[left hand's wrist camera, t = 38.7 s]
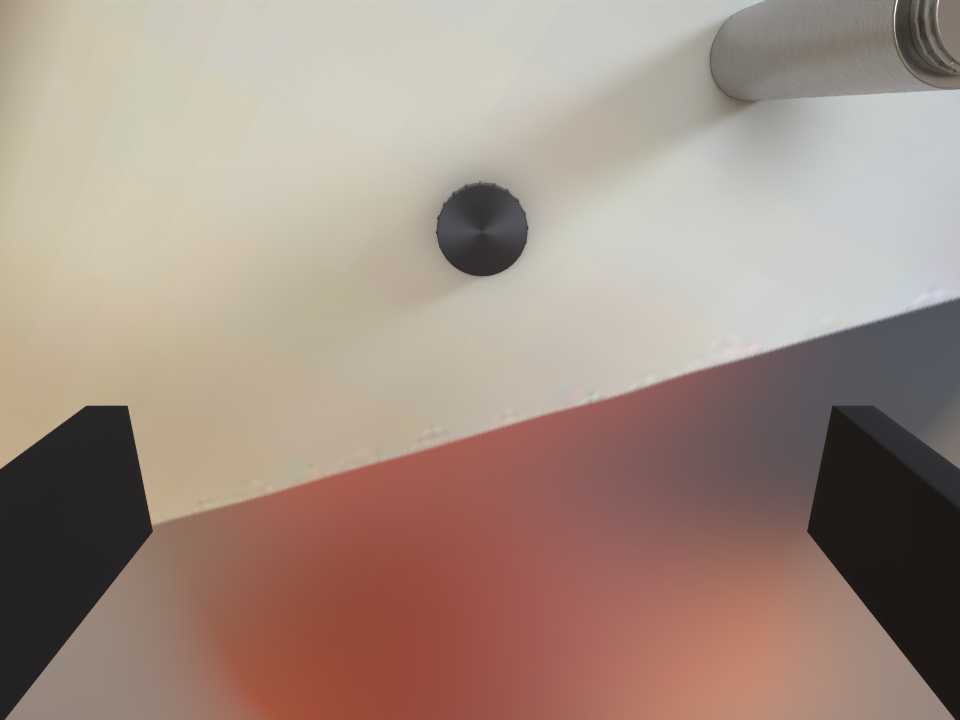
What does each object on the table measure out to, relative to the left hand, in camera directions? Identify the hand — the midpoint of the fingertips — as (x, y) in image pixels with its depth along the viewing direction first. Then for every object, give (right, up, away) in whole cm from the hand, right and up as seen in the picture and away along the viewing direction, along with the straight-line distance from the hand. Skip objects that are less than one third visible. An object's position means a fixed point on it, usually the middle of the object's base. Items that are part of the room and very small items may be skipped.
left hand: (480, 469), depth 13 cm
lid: (0, +10, +27) cm, 29 cm away
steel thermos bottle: (+15, +19, +25) cm, 35 cm away
